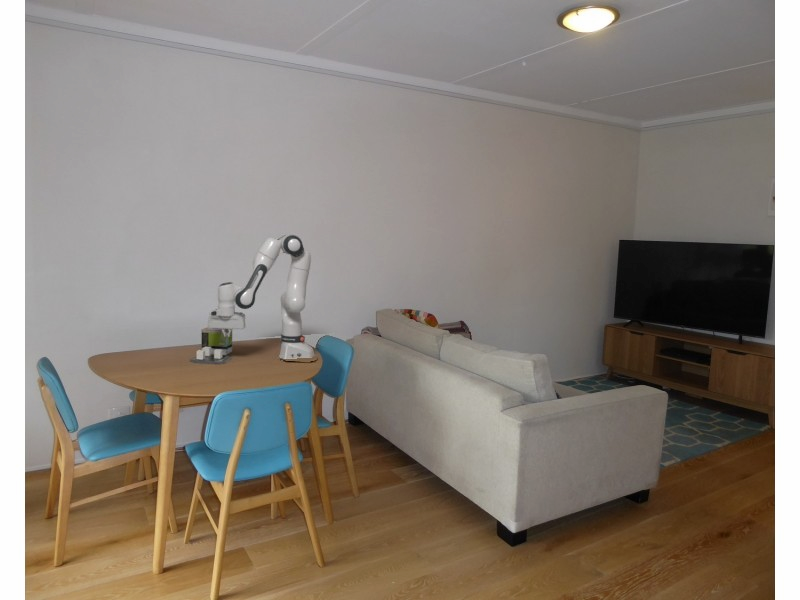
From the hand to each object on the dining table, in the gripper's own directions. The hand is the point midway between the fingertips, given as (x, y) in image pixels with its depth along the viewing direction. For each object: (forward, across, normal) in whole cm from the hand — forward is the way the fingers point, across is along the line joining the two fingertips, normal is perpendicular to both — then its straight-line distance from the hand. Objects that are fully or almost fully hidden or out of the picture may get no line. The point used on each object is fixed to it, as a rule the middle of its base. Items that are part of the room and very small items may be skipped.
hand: (227, 336), depth 305 cm
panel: (+14, +9, +1) cm, 16 cm away
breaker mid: (+12, +5, +1) cm, 13 cm away
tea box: (+14, +13, -18) cm, 27 cm away
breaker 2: (+12, +13, -4) cm, 18 cm away
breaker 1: (+12, +13, +5) cm, 18 cm away
